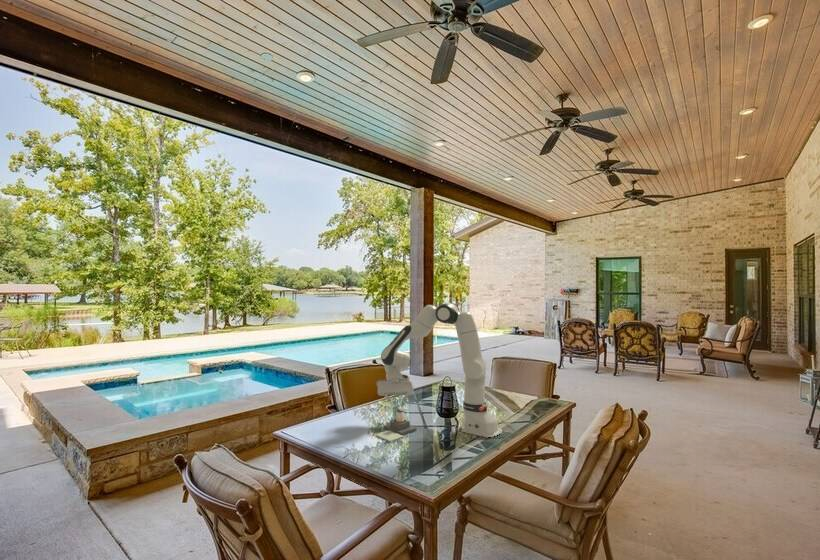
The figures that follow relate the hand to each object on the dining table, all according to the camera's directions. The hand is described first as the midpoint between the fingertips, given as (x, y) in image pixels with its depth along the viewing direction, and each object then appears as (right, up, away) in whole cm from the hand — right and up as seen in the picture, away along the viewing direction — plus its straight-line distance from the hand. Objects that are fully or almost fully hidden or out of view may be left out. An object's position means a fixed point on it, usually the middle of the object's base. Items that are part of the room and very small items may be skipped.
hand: (397, 401), depth 222 cm
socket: (+2, -13, -8) cm, 15 cm away
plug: (+2, -11, -8) cm, 14 cm away
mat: (-3, -12, -19) cm, 23 cm away
